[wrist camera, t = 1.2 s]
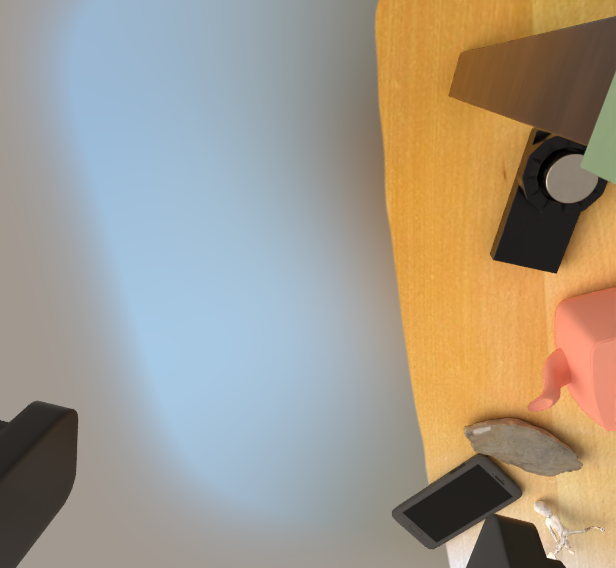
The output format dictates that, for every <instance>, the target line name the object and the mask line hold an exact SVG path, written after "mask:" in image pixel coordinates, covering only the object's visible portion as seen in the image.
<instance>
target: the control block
mask: <svg viewBox="0 0 616 568" xmlns="http://www.w3.org/2000/svg"><path fill="white" fill-rule="evenodd" d="M586 149H587V146H585V145H583V144H580V143H577V142H574V141H572V140H569V139H566V138H563V137H561V136H558V135H555V134H552V133H549V132H547V131H543V130H538V129H533V128H532V130H531V133H530V136H529V139H528V142H527V145H526V148H525V151H524V154H523V157H522V160H521V163H520V166H519V169H518V172H517V174H516V177H515V180H514V183H513V186H512V189H511V192H510V195H509V198H508V201H507V204H506V207H505V210H504V213H503V216H502V219H501V222H500V225H499V228H498V231H497V234H496V237H495V240H494V243H493V246H492V249H491V252H490V255H491V257H492V259H493V260H496V261H501V262H505V263H510V264H514V265H519V266H524V267H528V268H533V269H537V270H542V271H547V272H551V273H557V271H558V269H559V266H560V264H561V261H562V258H563V256H564V253H565V251H566V248H567V246H568V243H569V241H570V238H571V235H572V233H573V230H574V228H575V225H576V223H577V220H578V218H579V215H580V212H581V211H584V210H585V209H587V208H588V207H589V206H590V205H591V204H592V203H593V202H595V201H596V200H597V199H598V198H599V197H600V196H601V195H602V194H603V192H604V190H605V187H606V185H607V182H608V181H607V180H605V179H603V178H601V177H599V176H598V181H597V184H596V186H595V188H594V190H593V191H592V192H591V193H590V194H589V195H588V196H587V197H586V198H584V199H583V200H581V201H578V202H575V203H562V202H559V201H557V200H555V199H554V198H552V197H551V196H550V195H548V194H547V193H546V192H545V191H544V190H543V188H542V186H541V183H540V172H541V169H542V167H543V165H544V164H545V162H546V161H547V160H548V159H549V158H550V157H551V156H553V155H555V154H557V153H559V152H563V151H574V152H577V153H580V154H582V155H584V154H585V152H586Z"/></svg>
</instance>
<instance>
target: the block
mask: <svg viewBox="0 0 616 568" xmlns="http://www.w3.org/2000/svg"><path fill="white" fill-rule="evenodd" d="M580 167H581V168H582V169H584V170H586V171H588V172H590V173H592V174H595V175H597V176H599V177H601V178H603V179H605V180H607V181H609V182H611V183H613V184H615V185H616V72H615V75H614V78H613V80H612V83H611V85H610V88H609V91H608V93H607V96H606V99H605V101H604V104H603V107H602V109H601V112H600V115H599V117H598V120H597V122H596V125H595V128H594V130H593V133H592V136H591V138H590V141H589V144H588V146H587V149H586V152H585V154H584V157H583V159H582V162H581V165H580Z"/></svg>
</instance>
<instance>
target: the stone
mask: <svg viewBox="0 0 616 568" xmlns="http://www.w3.org/2000/svg"><path fill="white" fill-rule="evenodd" d="M464 434H465V436H466V437H467V438H468V439H469V441H471V446H472V448H473V449H474V451H476V452H479V453H481V454H486V455H490V456H492V457H495V458H497V459H499V460H500V461H502V462H504V463H506V464H512V465H515V466H517V467H519V468H521V469H523V470H524V471H527V472H530V473H535V474H537V475H541V476H548V477H550V476H555V475H558V474H560V473H564V472H566V471H567V472H572V471H573V470H579V469H581V467H582V466H583V463H582V462H580V461H579V460H578V459H577V458H578V457H577V455H576V454H575V453H574V452H573V451H572V450H571V448H570V447H569V446H568V445H566V444H564V443H562V442H561V441H560V440H558V439H557V437H554V436H553V435H552V434H550V433H549V432H548V431H546V430H544V429H541V428H539V427H536V426H532V425H531V424H529V423H527V422H524V421H522V420H519V419H512V418H503V419H497V420H488V421H485V422H483V421H482V422H479V423H476V424H472V425H469V426H465V427H464Z"/></svg>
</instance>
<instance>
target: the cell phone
mask: <svg viewBox="0 0 616 568" xmlns="http://www.w3.org/2000/svg"><path fill="white" fill-rule="evenodd" d="M521 495H522V491H521V489H520V487H519V486H518V485H517V484H516V483H515V482H514V481H513V480H512V479H511V478H510V477H509V476H508V475H507V474H505V473H504V472H503V471H502V470H501V469H500V468H499V467H498V466H497V465H496V464H495V463H494V462H493V461H492V460H491V459H490V458H489V457H488V456H486V455H484V454H478V455H475V456H474V457H472V458H471V459H469V460H468V461H466V462H465V463H463V464H461V465H460V466H458V467H457V468H455V469H454V470H452V471H451V472H449V473H448V474H446V475H445V476H443V477H442V478H440V479H438V480H437V481H435V482H434V483H432V484H431V485H429V486H428V487H426V488H425V489H423V490H422V491H420V492H419V493H417V494H416V495H414V496H412V497H411V498H409V499H408V500H406V501H405V502H403V503H402V504H400V505H399V506H398V507H396V508H395V509H394V510H393V511H392V517H393V518H394V519H395V520H396V521H397V522H398V523H399V524H400V525H401V526H402V527H404V528H405V529H406V530H407V531H408V532H409V533H410V534H412V535H413V536H414V537H415V538H416V539H417V540H419V541H420V542H421V543H422V544H423V545H424V546H425V547H427V548H428V549H435V548H437V547H438V546H440V545H442V544H444V543H445V542H447V541H449V540H450V539H452V538H454V537H455V536H457V535H459V534H461V533H462V532H464V531H466V530H467V529H469V528H471V527H472V526H474V525H476V524H477V523H479V522H481V521H482V520H484V519H486V518H487V516H488V515H489V514H491V513H493V514H494V513H496V512H497V511H499V510H501V509H502V508H504V507H506V506H508V505H509V504H511V503H513V502H514V501H516V500H517V499H519V498H520V497H521Z"/></svg>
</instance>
